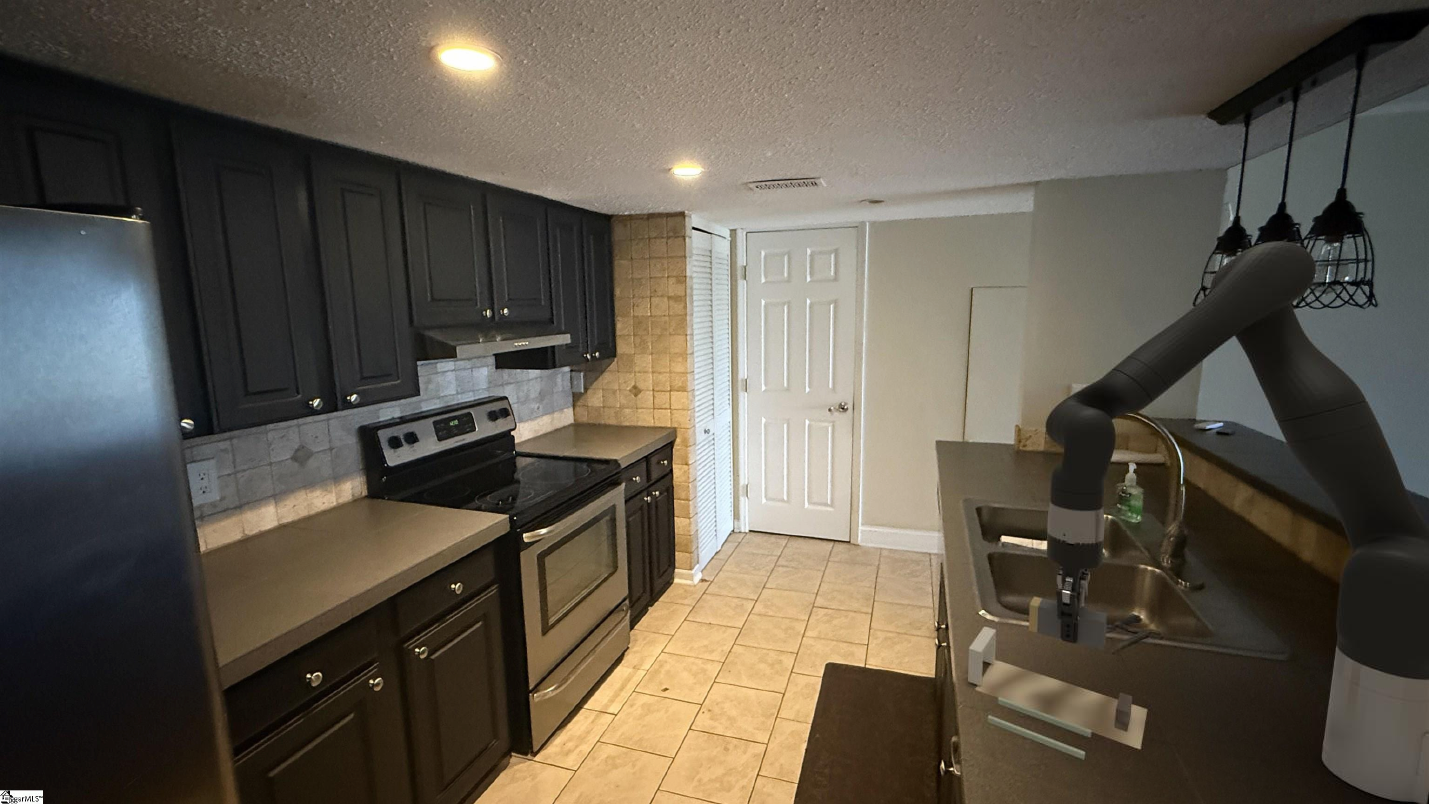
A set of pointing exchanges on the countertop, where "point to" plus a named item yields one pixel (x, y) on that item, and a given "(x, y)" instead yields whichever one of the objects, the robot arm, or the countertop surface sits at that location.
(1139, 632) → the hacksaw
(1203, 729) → the countertop surface
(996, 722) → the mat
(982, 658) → the strap
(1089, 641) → the long gray brick
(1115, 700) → the flat beige board
